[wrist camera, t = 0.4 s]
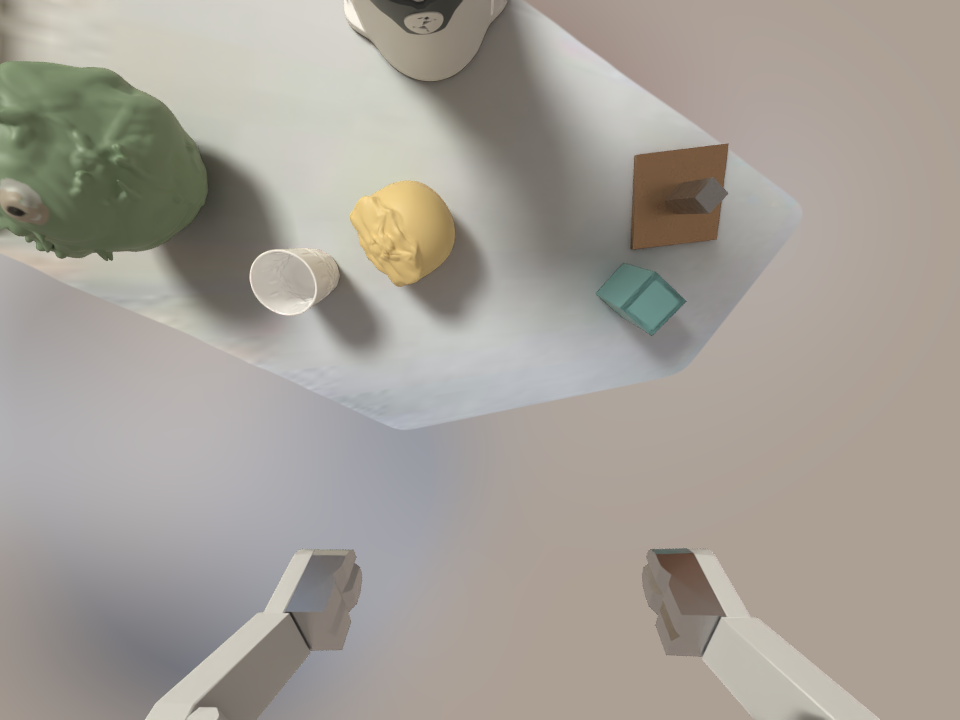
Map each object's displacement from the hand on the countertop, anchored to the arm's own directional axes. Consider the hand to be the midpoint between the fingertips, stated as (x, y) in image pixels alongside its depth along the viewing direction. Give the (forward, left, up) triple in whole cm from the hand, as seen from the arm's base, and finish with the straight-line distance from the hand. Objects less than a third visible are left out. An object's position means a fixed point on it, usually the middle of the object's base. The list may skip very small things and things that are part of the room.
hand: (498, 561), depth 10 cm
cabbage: (-18, -38, -47) cm, 63 cm away
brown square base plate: (-8, +29, -47) cm, 56 cm away
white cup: (-4, -23, -47) cm, 52 cm away
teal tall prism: (+4, +22, -47) cm, 52 cm away
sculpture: (-8, -8, -47) cm, 48 cm away
